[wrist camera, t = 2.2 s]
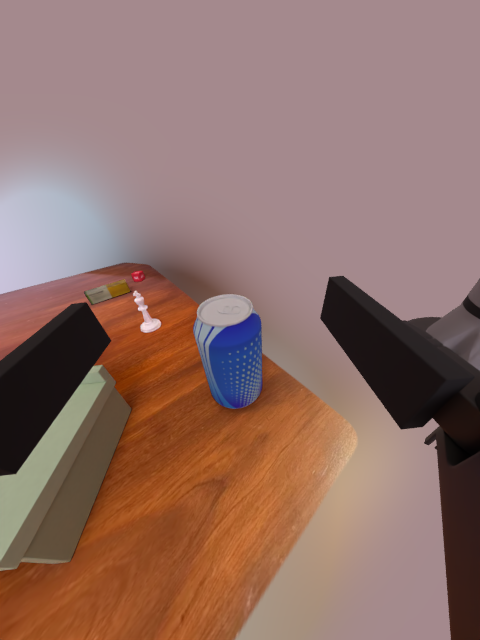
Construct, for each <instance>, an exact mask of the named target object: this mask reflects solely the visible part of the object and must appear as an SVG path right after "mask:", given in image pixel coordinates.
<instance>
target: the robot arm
mask: <svg viewBox="0 0 480 640" xmlns="http://www.w3.org/2000/svg"><path fill="white" fill-rule="evenodd" d="M321 320H322V321H323V323H324V324H325V325H326V327H327V328H328V330H329V331H330V332H331V334H332V335H333V336H334V338H335V339H336V341H337V342H338V343H339V345H340V346H341V347H342V349H343V350H344V352H345V353H346V354H347V356H348V357H349V358H350V360H351V361H352V363H353V364H354V365H355V367H356V368H357V369H358V371H359V372H360V374H361V375H362V376H363V378H364V379H365V380H366V382H367V383H368V385H369V386H370V387H371V389H372V390H373V391H374V393H375V394H376V396H377V397H378V398H379V400H380V401H381V402H382V404H383V405H384V407H385V408H386V409H387V411H388V412H389V413H390V415H391V416H392V418H393V419H394V420H395V422H396V423H397V424H398V426H399V427H400V429H408V428H417V427H423V426H424V425H425V424H426V423H427V422H428V421H429V420H431V419H432V418H433V419H434V420H435V421H436V422H437V423H438V424H439V425H440V426H439V427H438V428H437V429H436V430H435V431H433V432H432V433H431V434H430V435H429V436H428V437H427V438H426V439H425V442H424V443H425V444H427V445H429V444H431V443H432V442H433V441H434V440H436V441H437V446H436V447H435V449H437V455H438V468H439V481H440V482H439V483H440V496H441V510H442V522H443V536H444V551H445V563H446V577H447V591H448V605H449V618H450V631H451V640H480V279H479V280H478V282H477V283H476V285H475V286H474V287H473V288H472V290H471V291H470V293H469V294H468V296H467V297H466V298H465V300H464V301H463V302H462V304H461V305H460V306H458V307H457V308H455V309H454V310H452V311H451V312H450V313H448V314H447V315H445V316H444V317H442V318H441V319H439V320H438V321H437V322H435V323H434V324H432V325H431V326H429V327H428V329H427V330H426V331H424V330H423V329H422V328H420V327H418V326H416V325H414V324H412V323H409V322H407V321H402V320H400V319H399V318H398V317H396V316H395V315H394V314H392V313H391V312H390V311H389V310H387V309H386V308H385V307H383V306H382V305H380V304H379V303H378V302H377V301H375V300H374V299H373V298H372V297H370V296H369V295H368V294H366V293H365V292H363V291H362V290H361V289H360V288H358V287H357V286H356V285H354V284H353V283H352V282H350V281H349V280H348V279H347V278H345V277H344V276H337V277H329V281H328V285H327V290H326V295H325V299H324V304H323V308H322V313H321ZM110 342H111V340H110V338H109V337H108V335H107V333H106V332H105V330H104V329H103V327H102V326H101V324H100V323H99V321H98V320H97V318H96V316H95V315H94V313H93V312H92V310H91V309H90V307H89V306H88V304H87V303H77V304H71V305H70V306H69V307H68V308H66V309H65V310H64V311H63V312H61V313H60V314H59V315H57V316H56V317H55V318H54V319H52V320H51V321H50V322H49V323H47V324H46V325H45V326H44V327H42V328H41V329H40V330H39V331H37V332H36V333H35V334H34V335H32V336H31V337H30V338H29V339H27V340H26V341H25V342H24V343H22V344H21V345H20V346H18V347H17V348H16V349H15V350H13V351H12V352H11V353H10V354H8V355H7V356H6V357H5V358H3V359H2V360H1V361H0V476H4V475H13V474H17V472H18V471H19V469H20V468H21V467H22V465H23V464H24V462H25V461H26V460H27V458H28V457H29V455H30V454H31V453H32V451H33V450H34V448H35V447H36V446H37V444H38V443H39V441H40V440H41V438H42V437H43V436H44V434H45V433H46V431H47V430H48V429H49V427H50V426H51V424H52V423H53V422H54V420H55V419H56V417H57V416H58V415H59V413H60V412H61V410H62V409H63V408H64V406H65V405H66V403H67V402H68V401H69V399H70V398H71V396H72V395H73V394H74V392H75V391H76V389H77V388H78V387H79V385H80V384H81V382H82V381H83V380H84V378H85V377H86V375H87V374H88V373H89V371H90V370H91V368H92V367H93V366H94V364H95V363H96V361H97V360H98V359H99V357H100V356H101V354H102V353H103V352H104V350H105V349H106V347H107V346H108V345H109V343H110Z"/></svg>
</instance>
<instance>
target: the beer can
mask: <svg viewBox="0 0 480 640" xmlns="http://www.w3.org/2000/svg"><path fill="white" fill-rule="evenodd" d="M193 331H194V336H195V339H196V343H197V346H198V349H199V353H200V356H201V360H202V363H203V366H204V370H205V373H206V377H207V380H208V383H209V387H210V390H211V394H212V396H213V398H214V399H215V400H216V402H218V403H219V404H220V405H222V406H224V407H227V408H232V409H237V408H243V407H246V406H248V405H250V404H251V403H253V402H254V401H255V400H256V399H257V398H258V396H259V395H260V392H261V390H262V340H261V320H260V317H259V315H258V314H257V312H256V311H255V310H254V309H253V304H252V302H251V301H250V300H249V299H248V298H245V297H243V296H240V295H235V294H225V295H219V296H215V297H212V298H210V299H208V300H206V301H204V302H203V303H202V304H201V305H200V306H199V307H198V309H197V319H196V321H195V323H194V328H193Z"/></svg>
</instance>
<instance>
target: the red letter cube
mask: <svg viewBox="0 0 480 640" xmlns="http://www.w3.org/2000/svg"><path fill="white" fill-rule="evenodd" d="M131 275H132V277H133V280H134V282H138V281H143V280H144V279H145V276H144V274H143V271H135V272H134V273H132V274H131Z"/></svg>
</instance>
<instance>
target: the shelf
mask: <svg viewBox="0 0 480 640" xmlns="http://www.w3.org/2000/svg"><path fill="white" fill-rule="evenodd" d="M115 384H116V381H115V380H114V379H113V378H112V376H111V375H110V374H109V373H108V371H107V370H106V369H105V367H104V366H103V365H98V366H93V367H92V368H91V370H90V371H89V373H88V374H87V375H86V377H85V378H84V380H83V381H82V382H81V384H80V385H79V387H78V388H77V389H76V391H75V392H74V394H73V395H72V396H71V398H70V399H69V401H68V402H67V403H66V405H65V406H64V408H63V409H62V410H61V412H60V413H59V415H58V416H57V417H56V419H55V420H54V422H53V423H52V424H51V426H50V427H49V429H48V430H47V431H46V433H45V434H44V436H43V437H42V438H41V440H40V441H39V443H38V444H37V446H36V447H35V448H34V450H33V451H32V453H31V454H30V455H29V457H28V458H27V460H26V461H25V462H24V464H23V465H22V467H21V468H20V469H19V471H18V472H17V474H13V475H4V476H0V571H3V570H10V569H16V568H17V567H18V566H19V564H20V562H31V563H48V564H57V563H65V562H70V561H71V558H72V556H73V554H74V551H75V549H76V546H77V544H78V541H79V539H80V536H81V534H82V531H83V529H84V526H85V524H86V521H87V519H88V516H89V514H90V511H91V509H92V506H93V504H94V501H95V499H96V496H97V494H98V491H99V489H100V486H101V484H102V482H103V479H104V477H105V474H106V472H107V469H108V467H109V464H110V462H111V459H112V457H113V454H114V452H115V449H116V447H117V444H118V442H119V439H120V437H121V434H122V432H123V429H124V427H125V424H126V422H127V419H128V417H129V414H130V412H131V410H132V409H131V408H130V406H129V405H128V404H127V403H126V401H125V400H124V399H123V398H122V396H121V395H120V394H119V392H118V391H117V390H116V389H115V387H114V386H115Z"/></svg>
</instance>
